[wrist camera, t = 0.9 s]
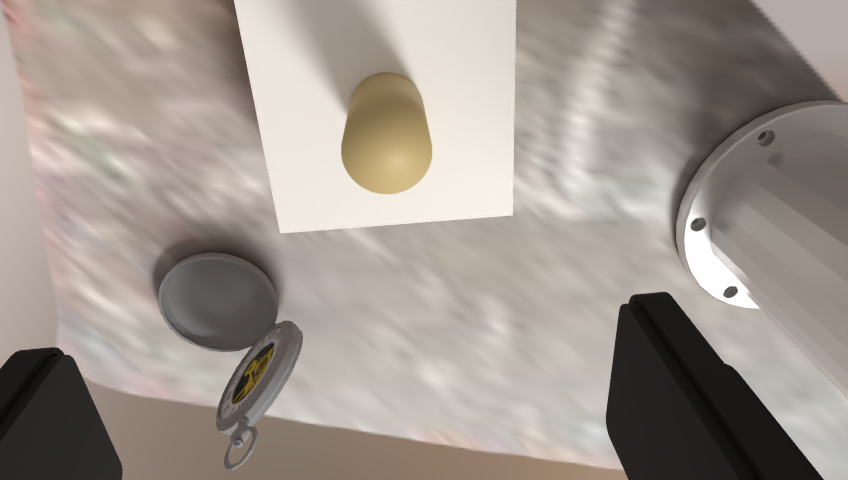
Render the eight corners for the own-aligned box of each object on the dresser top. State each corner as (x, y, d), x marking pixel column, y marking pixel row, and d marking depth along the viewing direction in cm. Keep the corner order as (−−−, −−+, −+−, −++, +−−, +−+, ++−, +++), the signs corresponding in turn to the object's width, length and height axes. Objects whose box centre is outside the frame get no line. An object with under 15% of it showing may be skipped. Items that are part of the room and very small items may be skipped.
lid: (512, -43, 22) (551, -33, 17) (509, 207, 27) (538, 274, 22) (234, -24, 22) (187, -8, 17) (283, 225, 27) (258, 296, 22)
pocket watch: (161, 241, 32) (77, 360, 23) (314, 258, 33) (289, 377, 25) (167, 356, 36) (96, 495, 27) (304, 368, 37) (279, 506, 28)
